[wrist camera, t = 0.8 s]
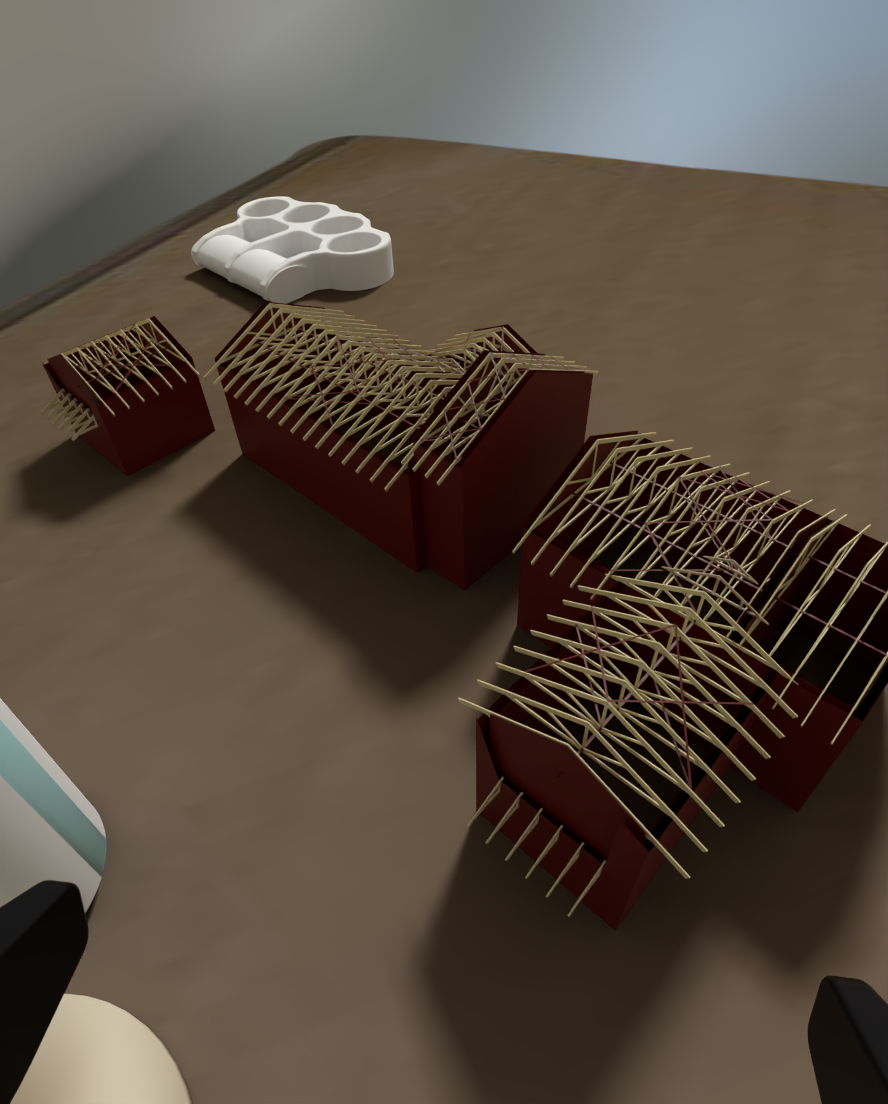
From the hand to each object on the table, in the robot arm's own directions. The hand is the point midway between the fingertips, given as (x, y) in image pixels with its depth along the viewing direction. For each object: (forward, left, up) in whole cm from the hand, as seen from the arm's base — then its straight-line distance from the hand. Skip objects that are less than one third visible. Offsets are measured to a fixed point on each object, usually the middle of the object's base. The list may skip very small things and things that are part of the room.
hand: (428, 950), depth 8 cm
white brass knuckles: (+38, +48, -16) cm, 64 cm away
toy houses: (+17, +18, -16) cm, 30 cm away
